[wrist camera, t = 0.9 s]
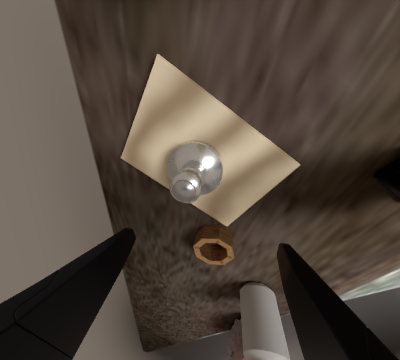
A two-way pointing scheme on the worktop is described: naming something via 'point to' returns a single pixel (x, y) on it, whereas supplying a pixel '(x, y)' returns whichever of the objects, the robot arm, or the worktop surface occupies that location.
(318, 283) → the robot arm
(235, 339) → the food item
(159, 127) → the board
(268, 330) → the can
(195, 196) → the silver door knob
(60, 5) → the worktop surface
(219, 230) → the ring
